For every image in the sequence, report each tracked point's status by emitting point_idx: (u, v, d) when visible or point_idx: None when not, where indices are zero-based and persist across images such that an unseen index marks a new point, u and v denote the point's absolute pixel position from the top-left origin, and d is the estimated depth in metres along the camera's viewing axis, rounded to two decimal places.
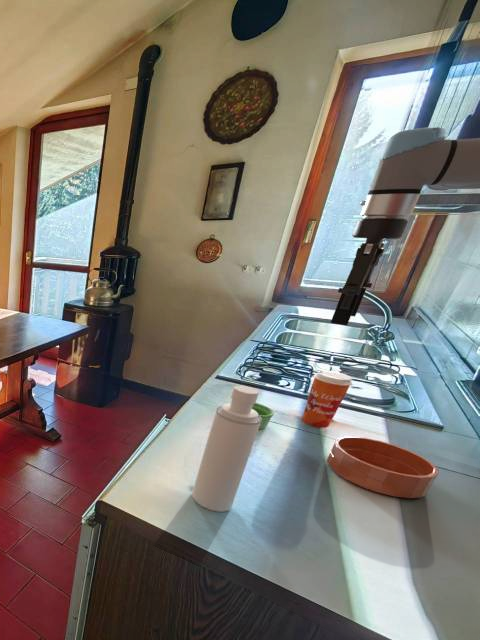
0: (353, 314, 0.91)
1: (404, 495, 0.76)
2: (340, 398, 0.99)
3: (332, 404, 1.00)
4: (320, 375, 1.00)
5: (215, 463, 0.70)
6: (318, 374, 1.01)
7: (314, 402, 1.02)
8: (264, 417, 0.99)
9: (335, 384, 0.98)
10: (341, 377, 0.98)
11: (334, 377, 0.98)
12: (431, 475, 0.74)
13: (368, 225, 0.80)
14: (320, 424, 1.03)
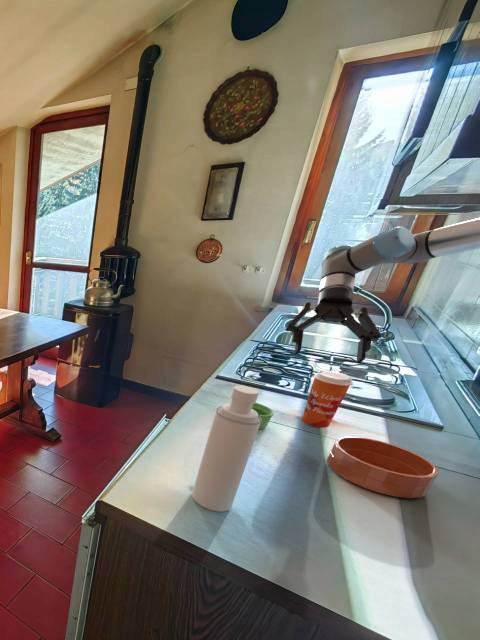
0: (360, 357, 1.04)
1: (404, 495, 0.76)
2: (340, 398, 0.99)
3: (332, 404, 1.00)
4: (320, 375, 1.00)
5: (215, 463, 0.70)
6: (318, 374, 1.01)
7: (314, 402, 1.02)
8: (264, 417, 0.99)
9: (335, 384, 0.98)
10: (341, 377, 0.98)
11: (334, 377, 0.98)
12: (431, 475, 0.74)
13: None
14: (320, 424, 1.03)
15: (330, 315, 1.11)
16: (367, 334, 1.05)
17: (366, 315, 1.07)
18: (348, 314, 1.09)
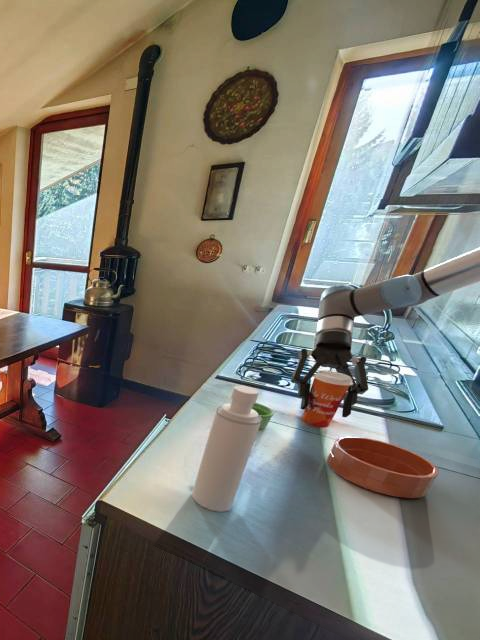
0: (346, 412, 0.98)
1: (404, 495, 0.76)
2: (340, 398, 0.99)
3: (332, 404, 1.00)
4: (320, 375, 1.00)
5: (215, 463, 0.70)
6: (318, 374, 1.01)
7: (314, 402, 1.02)
8: (264, 417, 0.99)
9: (335, 384, 0.98)
10: (341, 377, 0.98)
11: (334, 377, 0.98)
12: (431, 475, 0.74)
13: (314, 342, 1.10)
14: (320, 424, 1.03)
15: (327, 361, 1.04)
16: (354, 386, 1.00)
17: (362, 365, 1.01)
18: (344, 361, 1.02)
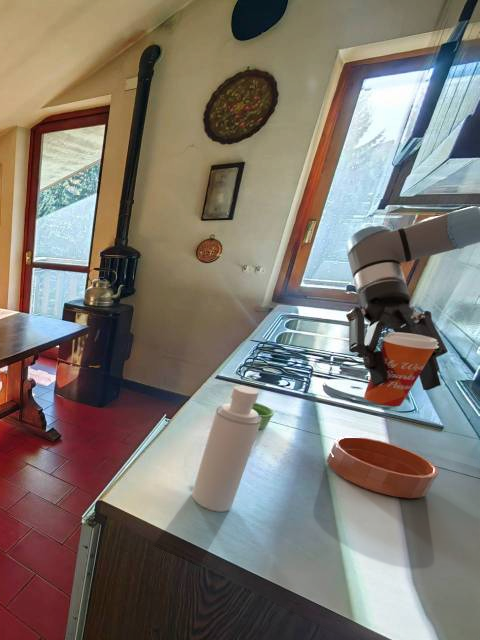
0: (433, 383, 0.75)
1: (404, 495, 0.76)
2: None
3: (415, 375, 0.76)
4: (399, 338, 0.76)
5: (215, 463, 0.70)
6: (394, 337, 0.76)
7: (390, 375, 0.78)
8: (264, 417, 0.99)
9: (423, 348, 0.74)
10: (424, 338, 0.75)
11: (418, 339, 0.74)
12: (431, 475, 0.74)
13: (358, 298, 0.86)
14: (396, 402, 0.79)
15: (389, 320, 0.81)
16: None
17: (429, 321, 0.80)
18: (409, 319, 0.80)
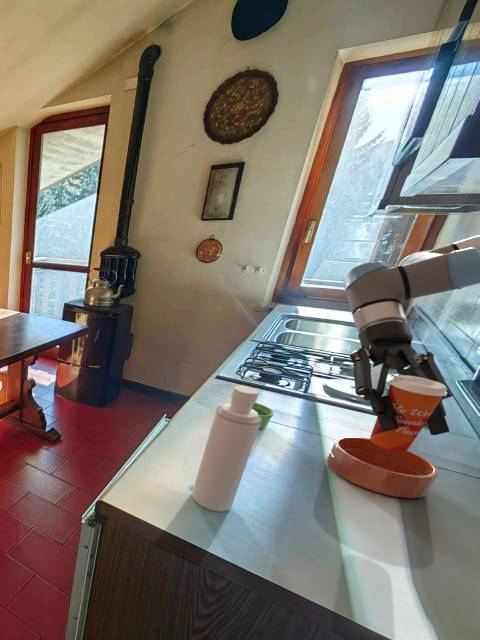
0: (442, 429, 0.73)
1: (404, 495, 0.76)
2: None
3: (424, 421, 0.74)
4: (408, 384, 0.73)
5: (215, 463, 0.70)
6: (403, 383, 0.74)
7: (399, 420, 0.75)
8: (264, 417, 0.99)
9: (433, 395, 0.72)
10: (433, 384, 0.73)
11: (428, 386, 0.72)
12: (431, 475, 0.74)
13: (359, 337, 0.84)
14: (404, 447, 0.77)
15: (393, 361, 0.79)
16: None
17: (432, 363, 0.78)
18: (413, 361, 0.78)
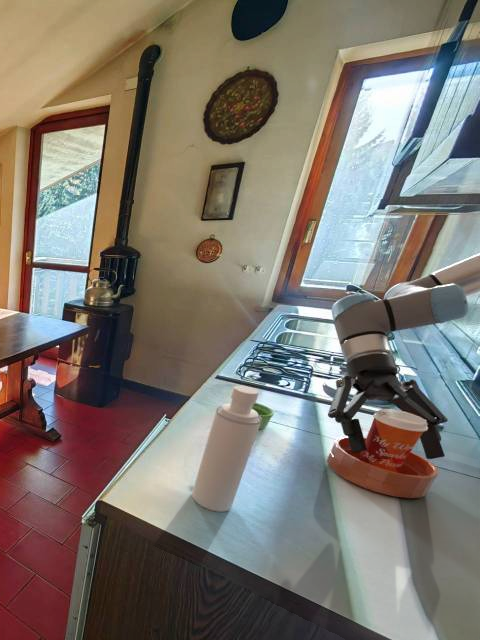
0: (437, 454, 0.76)
1: (404, 495, 0.76)
2: (414, 445, 0.77)
3: (406, 454, 0.77)
4: (391, 419, 0.76)
5: (215, 463, 0.70)
6: (386, 417, 0.77)
7: (383, 453, 0.78)
8: (264, 417, 0.99)
9: (415, 431, 0.75)
10: (414, 419, 0.76)
11: (410, 421, 0.75)
12: (431, 475, 0.74)
13: (347, 367, 0.87)
14: None
15: (379, 393, 0.82)
16: (431, 419, 0.79)
17: (419, 390, 0.81)
18: (400, 391, 0.81)
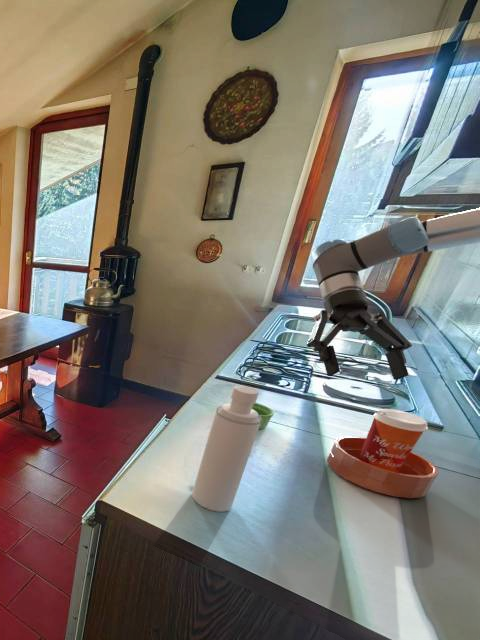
0: (402, 373, 0.86)
1: (404, 495, 0.76)
2: (414, 445, 0.77)
3: (406, 454, 0.77)
4: (391, 419, 0.76)
5: (215, 463, 0.70)
6: (386, 417, 0.77)
7: (383, 453, 0.78)
8: (264, 417, 0.99)
9: (415, 431, 0.75)
10: (414, 419, 0.76)
11: (410, 421, 0.75)
12: (431, 475, 0.74)
13: (324, 305, 0.97)
14: None
15: (352, 324, 0.92)
16: (398, 344, 0.88)
17: (387, 321, 0.91)
18: (371, 321, 0.91)
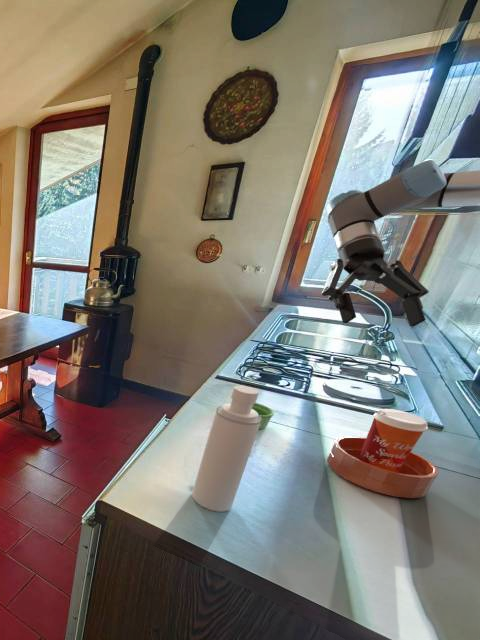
0: (419, 319, 0.86)
1: (404, 495, 0.76)
2: (414, 445, 0.77)
3: (406, 454, 0.77)
4: (391, 419, 0.76)
5: (215, 463, 0.70)
6: (386, 417, 0.77)
7: (383, 453, 0.78)
8: (264, 417, 0.99)
9: (415, 431, 0.75)
10: (414, 419, 0.76)
11: (410, 421, 0.75)
12: (431, 475, 0.74)
13: (339, 255, 0.96)
14: None
15: (367, 272, 0.91)
16: (414, 291, 0.88)
17: (403, 269, 0.90)
18: (387, 269, 0.90)
